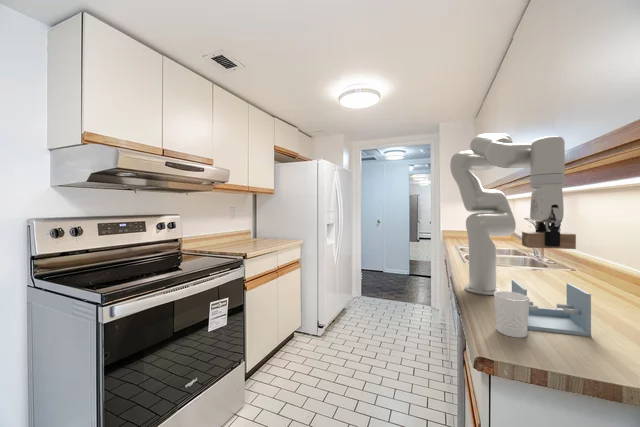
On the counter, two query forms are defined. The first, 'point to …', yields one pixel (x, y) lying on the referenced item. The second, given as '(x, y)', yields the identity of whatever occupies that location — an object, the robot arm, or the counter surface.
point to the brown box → (539, 240)
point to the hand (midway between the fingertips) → (547, 244)
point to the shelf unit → (561, 313)
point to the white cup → (511, 313)
